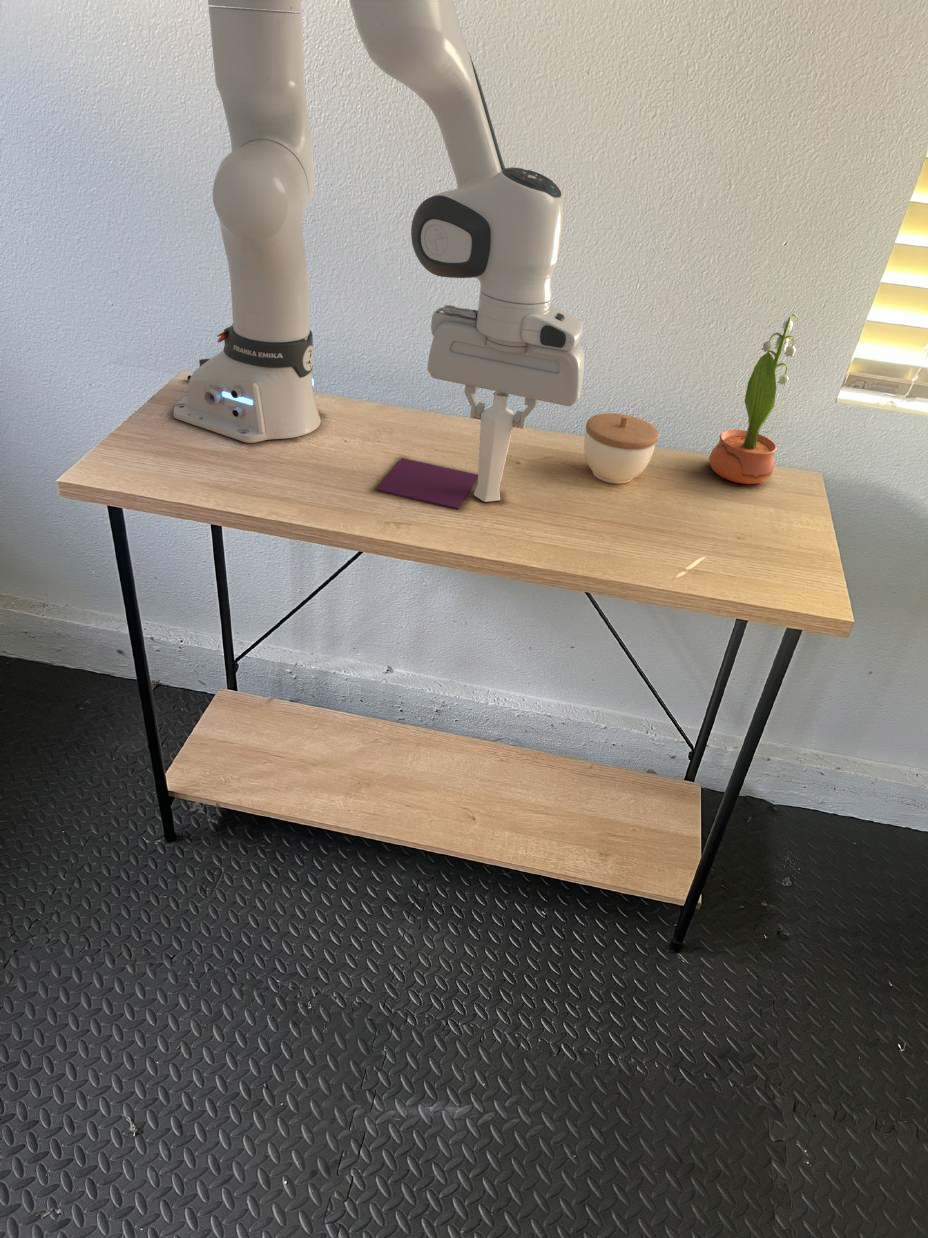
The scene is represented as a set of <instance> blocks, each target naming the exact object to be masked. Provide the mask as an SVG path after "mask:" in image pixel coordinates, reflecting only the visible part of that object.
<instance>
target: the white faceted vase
mask: <svg viewBox="0 0 928 1238" xmlns="http://www.w3.org/2000/svg"><path fill="white" fill-rule="evenodd" d="M492 395H493V400H492V406H490V407H488V408H486V409H484V411H482V412H481V420H480V424H479V425H480V427H479V428H480V429H479V445H478V446H479V447H478V469H477V475H478V479H477V484H476V487H475V489H474V492H473V496H474V497H476V498H477V499H479V500H481V501H482V502H485V503H486V502H487V503H488V502H496V501H501V491H500V487H501V483H502V479H503V474H504V469H505V465H506V460H507V456H508V452H509V446H510V442H511V437H512V433H513V429H514V427H513V422H514V415H515V413H514V412H513V410H512V409H510V408H508V400H509V397H510V394H507V393H502V392H497V391H493V393H492Z"/></svg>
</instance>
